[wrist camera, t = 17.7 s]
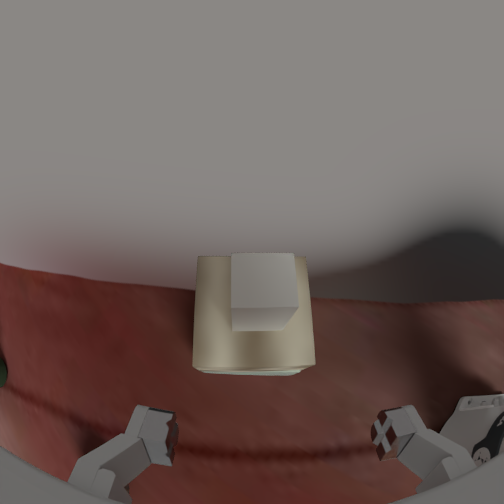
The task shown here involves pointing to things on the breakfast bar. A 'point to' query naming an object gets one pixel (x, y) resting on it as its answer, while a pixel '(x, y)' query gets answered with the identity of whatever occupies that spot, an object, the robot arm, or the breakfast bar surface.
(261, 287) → the offwhite block
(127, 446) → the robot arm
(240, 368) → the tower top
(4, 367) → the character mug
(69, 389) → the breakfast bar surface
